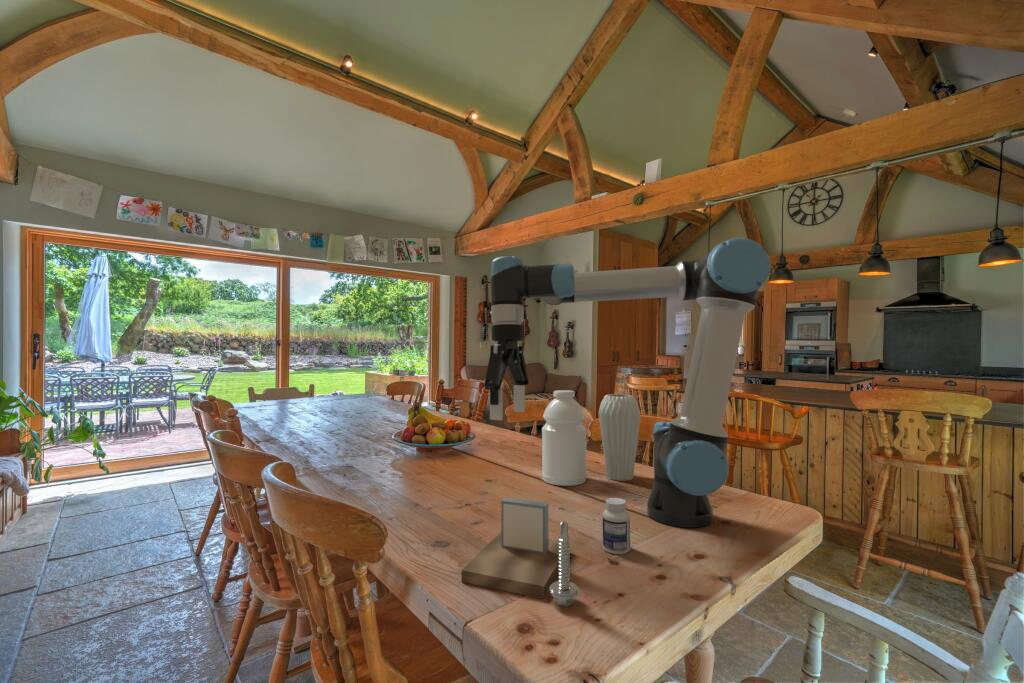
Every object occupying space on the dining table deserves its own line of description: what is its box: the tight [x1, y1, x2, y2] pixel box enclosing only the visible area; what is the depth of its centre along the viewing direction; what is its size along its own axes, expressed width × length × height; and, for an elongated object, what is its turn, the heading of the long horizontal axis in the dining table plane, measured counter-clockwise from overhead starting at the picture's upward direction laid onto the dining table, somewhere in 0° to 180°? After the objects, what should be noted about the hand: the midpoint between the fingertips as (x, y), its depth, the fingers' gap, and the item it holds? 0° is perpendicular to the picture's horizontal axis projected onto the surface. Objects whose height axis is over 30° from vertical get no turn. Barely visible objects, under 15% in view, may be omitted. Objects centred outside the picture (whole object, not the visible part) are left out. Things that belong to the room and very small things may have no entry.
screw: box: [548, 520, 580, 608], centre depth 71 cm, size 13×5×5 cm
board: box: [461, 531, 571, 600], centre depth 83 cm, size 15×18×2 cm
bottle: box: [541, 389, 587, 487], centre depth 140 cm, size 14×14×28 cm
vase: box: [598, 393, 642, 482], centre depth 143 cm, size 13×13×26 cm
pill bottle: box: [602, 497, 631, 555], centre depth 91 cm, size 5×5×10 cm
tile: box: [500, 497, 550, 554], centre depth 86 cm, size 9×2×9 cm, turn 69°
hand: (508, 415), depth 103 cm, fingers open, 13 cm apart
